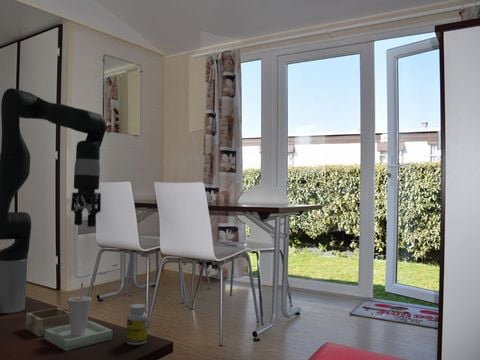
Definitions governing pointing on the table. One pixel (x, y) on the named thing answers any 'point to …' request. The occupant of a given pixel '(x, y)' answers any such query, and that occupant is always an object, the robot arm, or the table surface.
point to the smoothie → (79, 313)
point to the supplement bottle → (137, 325)
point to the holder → (46, 320)
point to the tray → (68, 342)
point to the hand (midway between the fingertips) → (84, 225)
